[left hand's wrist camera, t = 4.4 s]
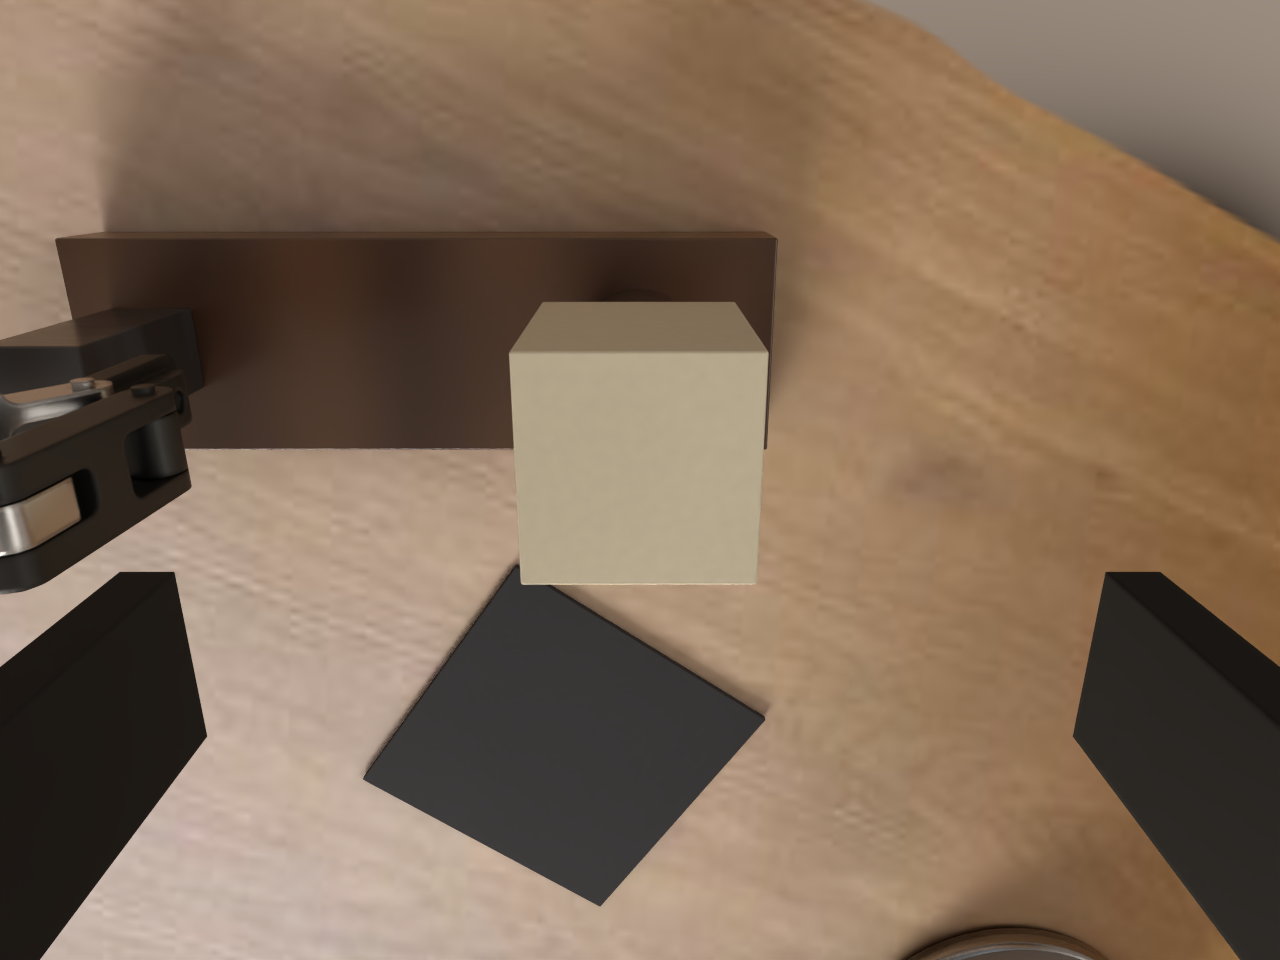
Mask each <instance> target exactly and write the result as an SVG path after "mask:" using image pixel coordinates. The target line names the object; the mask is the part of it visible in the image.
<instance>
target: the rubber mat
mask: <svg viewBox="0 0 1280 960" xmlns="http://www.w3.org/2000/svg"><path fill="white" fill-rule="evenodd" d="M764 721H765V717H764V716H763V715H761V714H760V713H758V712H756V711H755V710H753V709H751V708H750V707H748V706H747V705H745V704H743V703H742V702H740V701H738V700H737V699H735V698H734V697H732V696H730V695H729V694H727V693H725V692H724V691H722V690H721V689H719V688H717V687H716V686H714V685H712V684H711V683H709V682H708V681H706V680H704V679H703V678H701V677H699V676H698V675H696V674H695V673H693V672H691V671H690V670H688V669H686V668H685V667H683V666H682V665H680V664H678V663H677V662H675V661H673V660H672V659H670V658H668V657H667V656H665V655H664V654H662V653H660V652H659V651H657V650H655V649H654V648H652V647H651V646H649V645H647V644H646V643H644V642H642V641H641V640H639V639H638V638H636V637H634V636H633V635H631V634H629V633H628V632H626V631H625V630H623V629H621V628H620V627H618V626H616V625H615V624H613V623H612V622H610V621H608V620H607V619H605V618H603V617H602V616H600V615H599V614H597V613H595V612H594V611H592V610H590V609H589V608H587V607H585V606H584V605H582V604H581V603H579V602H577V601H576V600H574V599H572V598H571V597H569V596H568V595H566V594H564V593H563V592H561V591H559V590H558V589H556V588H555V587H553V586H551V585H523V584H521V577H520V566H519V565H516V566H515V567H514V569H513V570H512V571H511V573H510V574H509V576H508V577H507V578H506V580H505V581H504V583H503V584H502V585H501V587H500V588H499V589H498V591H497V592H496V594H495V595H494V596H493V598H492V599H491V601H490V602H489V603H488V605H487V606H486V608H485V609H484V610H483V612H482V613H481V614H480V616H479V617H478V619H477V620H476V621H475V623H474V624H473V626H472V627H471V628H470V630H469V631H468V633H467V634H466V635H465V637H464V638H463V640H462V641H461V642H460V644H459V645H458V646H457V648H456V649H455V651H454V652H453V653H452V655H451V656H450V658H449V659H448V660H447V662H446V663H445V665H444V666H443V667H442V669H441V670H440V671H439V673H438V674H437V676H436V677H435V678H434V680H433V681H432V683H431V684H430V685H429V687H428V688H427V690H426V691H425V692H424V694H423V695H422V697H421V698H420V699H419V701H418V702H417V703H416V705H415V706H414V708H413V709H412V710H411V712H410V713H409V715H408V716H407V717H406V719H405V720H404V722H403V723H402V724H401V726H400V727H399V728H398V730H397V731H396V733H395V734H394V735H393V737H392V738H391V740H390V741H389V742H388V744H387V745H386V747H385V748H384V749H383V751H382V752H381V754H380V755H379V756H378V758H377V759H376V760H375V762H374V763H373V765H372V766H371V767H370V769H369V770H368V772H367V773H366V774H365V776H364V778H363V780H365V781H367V782H369V783H371V784H372V785H374V786H376V787H378V788H380V789H382V790H384V791H386V792H387V793H389V794H391V795H393V796H395V797H397V798H399V799H400V800H402V801H404V802H406V803H408V804H410V805H412V806H413V807H415V808H417V809H419V810H421V811H423V812H425V813H427V814H428V815H430V816H432V817H434V818H436V819H438V820H440V821H441V822H443V823H445V824H447V825H449V826H451V827H453V828H455V829H456V830H458V831H460V832H462V833H464V834H466V835H468V836H469V837H471V838H473V839H475V840H477V841H479V842H481V843H482V844H484V845H486V846H488V847H490V848H492V849H494V850H496V851H497V852H499V853H501V854H503V855H505V856H507V857H509V858H510V859H512V860H514V861H516V862H518V863H520V864H522V865H524V866H525V867H527V868H529V869H531V870H533V871H535V872H537V873H538V874H540V875H542V876H544V877H546V878H548V879H550V880H551V881H553V882H555V883H557V884H559V885H561V886H563V887H565V888H566V889H568V890H570V891H572V892H574V893H576V894H578V895H579V896H581V897H583V898H585V899H587V900H589V901H591V902H593V903H594V904H596V905H598V906H601V905H602V904H603V903H604V902H605V900H606V899H607V898H608V897H609V896H610V895H611V894H612V893H613V891H614V890H615V889H616V888H617V887H618V886H619V885H620V884H621V882H622V881H623V880H624V879H625V878H626V877H627V876H628V874H629V873H630V872H631V871H632V870H633V869H634V868H635V867H636V865H637V864H638V863H639V862H640V861H641V860H642V859H643V858H644V856H645V855H646V854H647V853H648V852H649V851H650V850H651V848H652V847H653V846H654V845H655V844H656V843H657V842H658V841H659V839H660V838H661V837H662V836H663V835H664V834H665V833H666V832H667V830H668V829H669V828H670V827H671V826H672V825H673V824H674V822H675V821H676V820H677V819H678V818H679V817H680V816H681V815H682V813H683V812H684V811H685V810H686V809H687V808H688V807H689V806H690V804H691V803H692V802H693V801H694V800H695V799H696V798H697V796H698V795H699V794H700V793H701V792H702V791H703V790H704V789H705V787H706V786H707V785H708V784H709V783H710V782H711V781H712V780H713V778H714V777H715V776H716V775H717V774H718V773H719V772H720V770H721V769H722V768H723V767H724V766H725V765H726V764H727V763H728V761H729V760H730V759H731V758H732V757H733V756H734V755H735V754H736V752H737V751H738V750H739V749H740V748H741V747H742V746H743V744H744V743H745V742H746V741H747V740H748V739H749V738H750V737H751V735H752V734H753V733H754V732H755V731H756V730H757V729H758V728H759V726H760V725H761V724H762V723H763V722H764Z"/></svg>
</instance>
